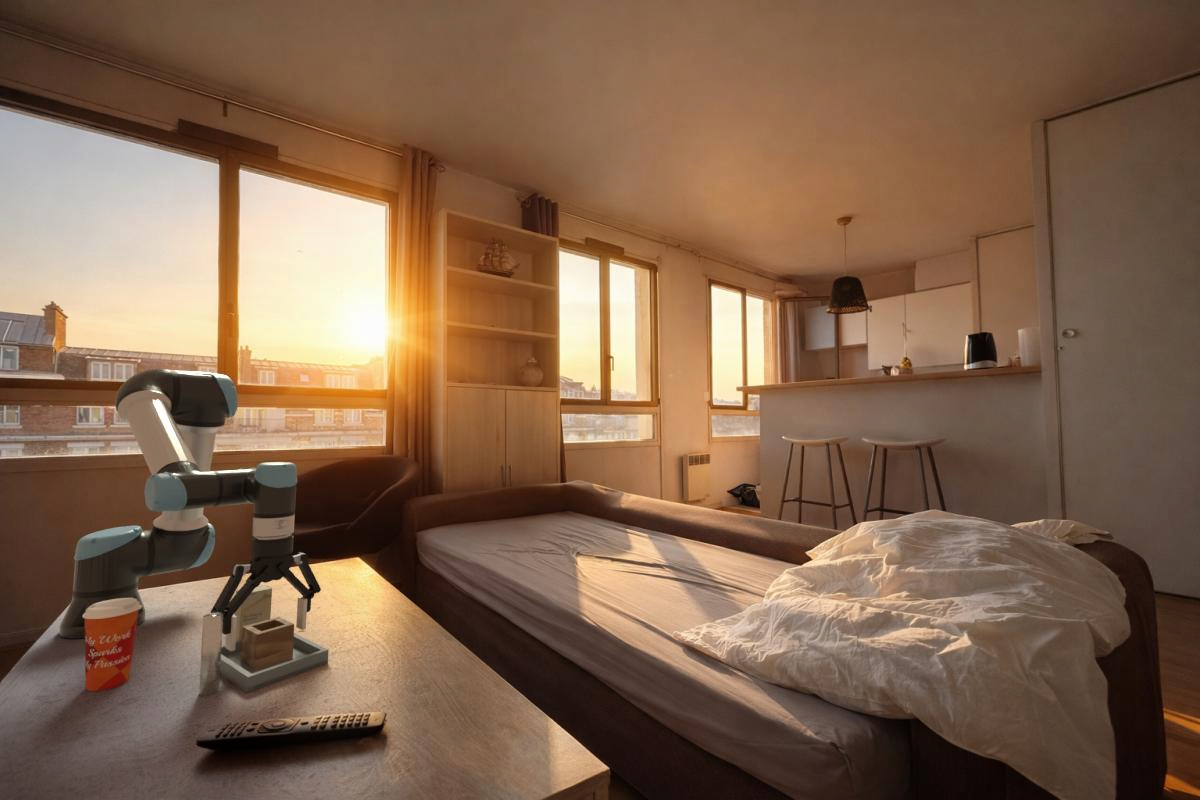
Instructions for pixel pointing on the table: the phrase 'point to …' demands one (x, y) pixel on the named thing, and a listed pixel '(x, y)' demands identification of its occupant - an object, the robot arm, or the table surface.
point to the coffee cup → (109, 642)
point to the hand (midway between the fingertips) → (267, 638)
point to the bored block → (267, 643)
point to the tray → (249, 679)
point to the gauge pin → (211, 654)
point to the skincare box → (254, 609)
